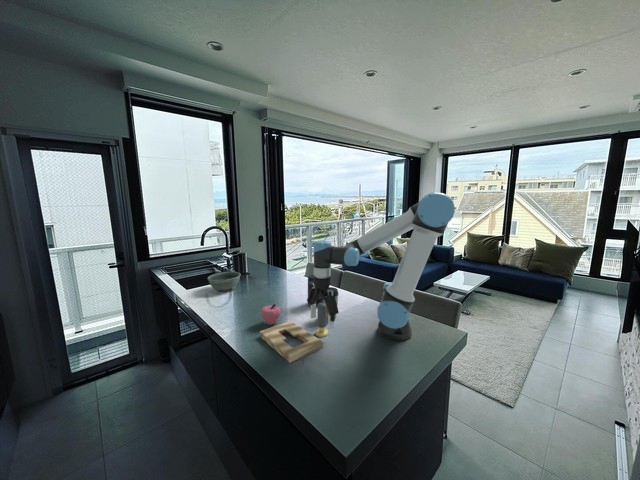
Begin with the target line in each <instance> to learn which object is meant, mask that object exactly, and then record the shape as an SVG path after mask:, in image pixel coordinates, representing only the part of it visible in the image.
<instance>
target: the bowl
mask: <svg viewBox="0 0 640 480" xmlns="http://www.w3.org/2000/svg"><path fill="white" fill-rule="evenodd" d="M240 278H241V273H240V272H237V271H224V272H218V273H213V274H211V275H209V276H208V277H207V280H208V283H209V285H210V286H211V288H213V289H215V290H217V291H218V292H221V293H222V292H223V293H225V292H229V291H232V290H233V288H235V287H236V286H238V283H239V282H240Z"/></svg>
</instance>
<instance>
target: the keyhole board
mask: <svg viewBox="0 0 640 480" xmlns="http://www.w3.org/2000/svg"><path fill="white" fill-rule="evenodd" d="M286 333H289V334H290V335H291V336H292V337H296V338H297V339H299V340H300V341H302V342H303V343H301V344H298V345H297V346H294V347H292V346H291V345H290V344H288V343H287V342H286V341H287V337H286V336H284V334H286ZM259 337H260V338H261V339H262V340H263V341H264V342H265V343H267V344H268V346H270V347H271V348H272V349H273V350H274V351H276V352H277V353H278V354H280V356H281V357H283V358H284V359H285V360H286V361H287V362H288V363H292V362H295V361H296V360H299V359H301V358H303V357H305V356H306V357H307V356H308V355H310V354H312V353H315V352H316V351H319V350H322V349H323V348H324V344H323V343H324V341H323V340H321V339H319V338H317V336H316V335H313V334H311V333H310V332H308V331H307V330H305V329H304V328H303V327H301V326H299V325H298V324H296V323H295V322H293V321H291V320H290V321H286V322H284V323H281V324H277V325H274V326H272V327H269V328H268V327H267V328H266V329H263V330H260V331H259Z"/></svg>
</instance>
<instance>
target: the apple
mask: <svg viewBox="0 0 640 480" xmlns="http://www.w3.org/2000/svg"><path fill="white" fill-rule="evenodd" d="M260 314H261V317H262V319H263V320H264V321H265V323H266V325H268V326H271V325H275V324H276V323H277V321H278V319H279V318H280V317H281V308H280V307H279V306H277V305H276V304H275V303H274V304H273V305H270V304H269V305H266V306H265V305H263V307H262V308H261V310H260Z"/></svg>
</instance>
